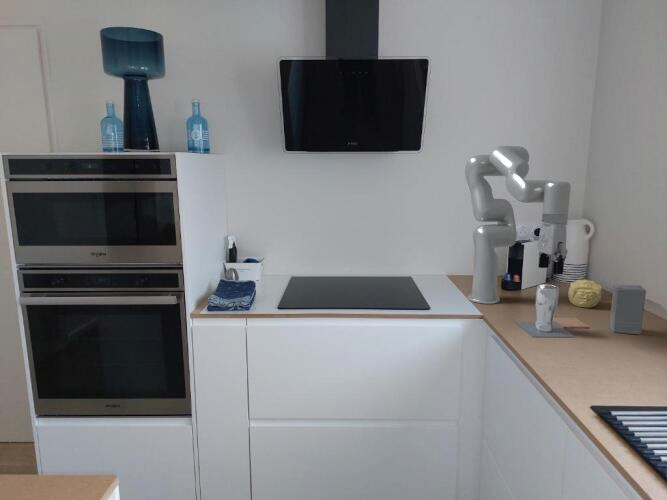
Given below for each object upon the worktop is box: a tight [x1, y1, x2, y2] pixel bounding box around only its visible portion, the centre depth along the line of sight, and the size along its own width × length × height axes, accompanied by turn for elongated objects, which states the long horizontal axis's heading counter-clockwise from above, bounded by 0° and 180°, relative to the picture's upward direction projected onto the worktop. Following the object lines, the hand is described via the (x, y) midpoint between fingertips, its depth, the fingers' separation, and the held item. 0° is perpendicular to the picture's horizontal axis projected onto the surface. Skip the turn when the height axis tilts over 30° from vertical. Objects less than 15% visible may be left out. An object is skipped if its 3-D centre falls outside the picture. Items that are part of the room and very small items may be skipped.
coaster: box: [553, 317, 590, 329], centre depth 160 cm, size 9×9×1 cm
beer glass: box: [534, 283, 560, 332], centre depth 152 cm, size 7×7×15 cm
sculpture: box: [567, 279, 603, 309], centre depth 181 cm, size 12×12×11 cm
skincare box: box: [609, 283, 647, 335], centre depth 152 cm, size 8×7×16 cm
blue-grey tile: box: [515, 321, 576, 338], centre depth 154 cm, size 14×14×1 cm
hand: (550, 270), depth 150 cm, fingers open, 9 cm apart
